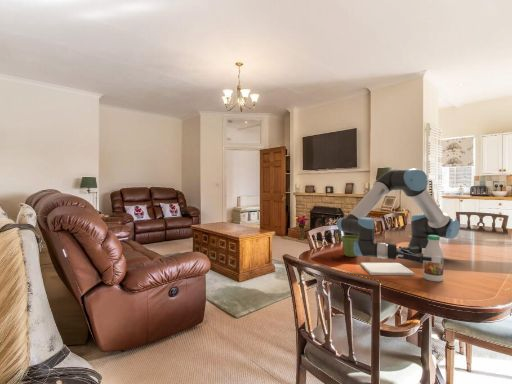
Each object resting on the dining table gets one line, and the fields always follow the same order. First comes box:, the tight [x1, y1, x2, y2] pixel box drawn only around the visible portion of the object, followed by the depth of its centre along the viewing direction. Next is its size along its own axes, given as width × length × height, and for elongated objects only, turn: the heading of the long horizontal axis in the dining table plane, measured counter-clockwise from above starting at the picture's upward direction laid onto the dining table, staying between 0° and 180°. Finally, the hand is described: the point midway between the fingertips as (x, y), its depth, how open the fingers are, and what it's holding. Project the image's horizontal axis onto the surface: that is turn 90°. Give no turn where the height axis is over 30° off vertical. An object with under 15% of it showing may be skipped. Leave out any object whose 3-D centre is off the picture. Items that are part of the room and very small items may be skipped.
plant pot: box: [340, 234, 358, 258], centre depth 170 cm, size 12×12×11 cm
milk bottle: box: [422, 235, 444, 282], centre depth 128 cm, size 8×8×20 cm
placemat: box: [360, 262, 415, 276], centre depth 142 cm, size 20×16×1 cm
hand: (439, 256), depth 127 cm, fingers open, 13 cm apart
